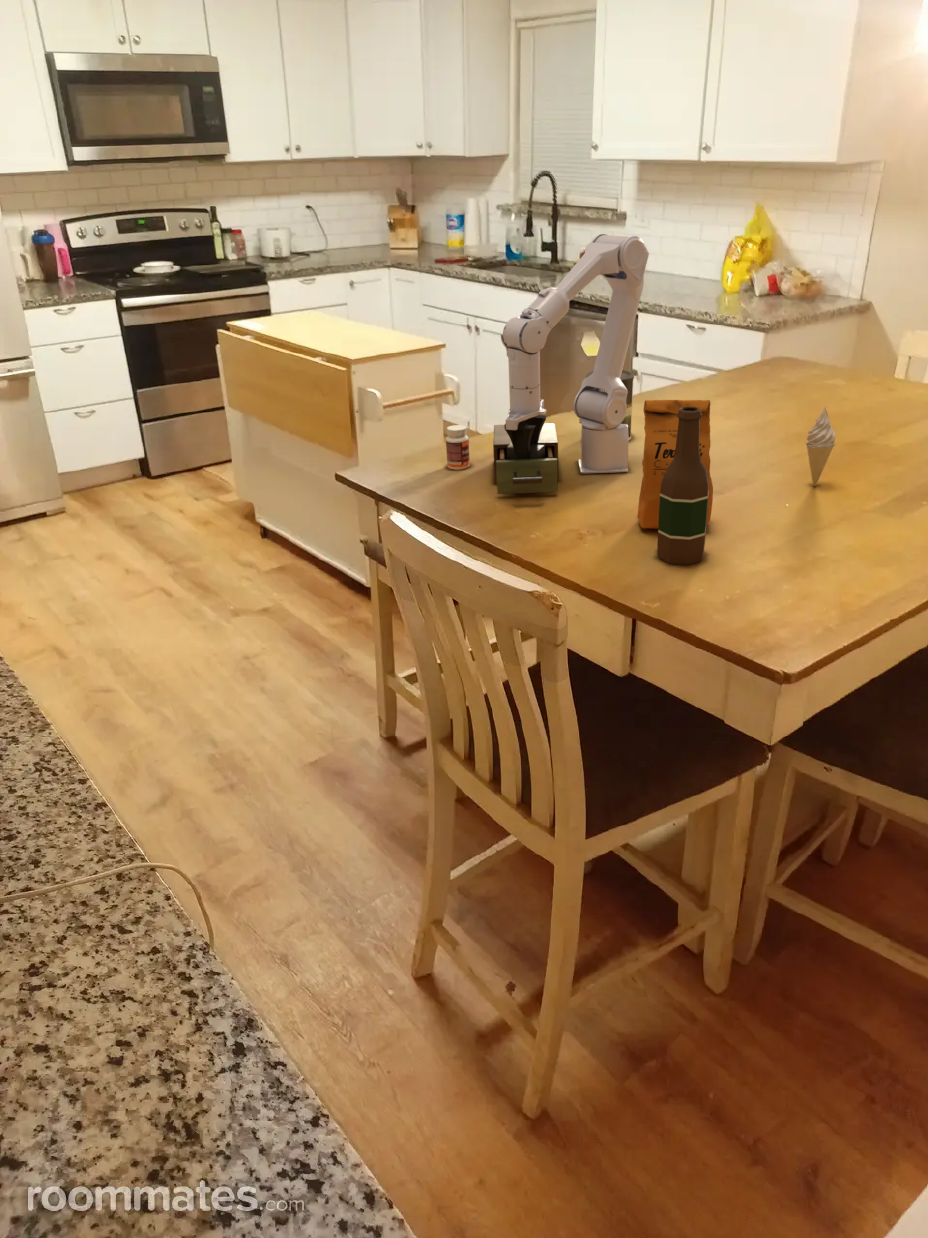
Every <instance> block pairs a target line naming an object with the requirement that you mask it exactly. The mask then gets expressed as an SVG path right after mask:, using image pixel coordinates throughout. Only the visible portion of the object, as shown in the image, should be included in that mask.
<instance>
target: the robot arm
mask: <svg viewBox="0 0 928 1238" xmlns="http://www.w3.org/2000/svg"><path fill="white" fill-rule="evenodd" d="M649 256H650V253H649V250H648V248H647V246H646V244H645V242H644V240H643V239H642V238H641V237H639V236H637V235H631V236H630V235H629V236H627V235H614V234H607V233H599V234H597V235H596V236H594V238H592V240H591V241H590V242H589V243H588V244H586V245H585V248H584V254H583V255H582V256H581V257H580V258H579V259H578V261H577V262H576V263H575V264H574V265H573V267H572V268H571V269H570V270H569V271H568V272H567V274H566V275H565V276H564V278H563V279H562V280H561V281H560V282H559V283H558V285H557V286H556V287H552V286H551V287H547V288H545V289H544V288H542V289H541V290H540V291H539V292H538V296H537V297H536V299H535V300H533V302H532V303H531V304H530V305H529V306H528V307H527V308H524V309H523V310H522V311H521V314H520V315H519V316H515V317H511V318H510V319H509V320H507V323H505V325H504V327H503V329H502V333H501V334H500V340H501V341H500V342H501V343H502V345H503V347H504V348H505V351H506V357H507V359H508V386H509V387H508V389H509V409H508V413H507V418H505V423H504V424H503V425H504V427H505V431H506V432H507V434H508V435H509V437H510V439H511V442H512V445H513V448H514V452H515V455H516V459H517V460H520V459H528V457H529V451H530V444H538V440H539V436H540V432H541V429H542V426H543V424H544V423H546V420H547V415H546V414H547V409H546V408H545V399H542V398H541V353H540V352H541V350H542V349H544V347H545V345H546V342H547V339H548V335H549V334H551V333H550V332H551V331H552V329H553V328H554V327H555V326H556V325H557V324H558V323H559V322H560V321H561V320H562V319H563V318H564V317H565V316H566V315H567V314H568V313H569V311H570V301H572V300H573V299H574V298H575V297H576V296H577V295H578V294H579V293H581V291H583V290H584V289H585V288H586V287H587V286H588V285H589V284H591V283H592V281H594V280H595V279H596V278H597V277H598V276H601V277H602V278H604V279H605V280H606V282H607V283H608V284H609V286H610V288H611V291H612V293H611V295H610V296H611V297H610V301H609V305H608V309H607V313H606V318H605V322H604V326H603V330H602V334H601V338H600V343H599V347H598V350H597V355H596V358H595V362H594V363H595V364H594V367H593V371H592V372H593V373H592V374H591V375H590V376H588V377H587V378H586V377H585V378H584V379H583V380H582V382H581V386H580V389H579V390H578V392H577V394H576V395H575V397H574V400H573V413H574V414H575V416H576V417H577V418H578V420H579V424H581V434H580V435H581V439H580V441H581V445H580V446H581V448H580V449H581V451H580V453H581V455H580V459H579V458H578V459H577V464H578V467H579V472H580V474H583V475H584V474H608V473H609V474H610V473H611V474H613V473H628V472H629V469H628V467H629V441H630V440H629V438H628V426H627V424H620V423H621V422H622V421H623V419H624V418H625V415H626V411H627V404H626V398H627V394H628V390H627V389H626V387H625V386H624V384H623V382H622V381H621V379H620V378H621V374H622V370H623V369H624V367H625V362H626V358H627V354H628V349H629V345H630V343H631V342H630V341H631V337H632V334H633V329H634V325H635V322H636V318H637V312H638V310H639V306H640V301H641V297H642V294H643V290H644V281H645V280H644V278H645V277H644V276H645V272H646V267H647V263H648V259H649ZM601 389H603V390H605V391H607V393H606V392H602V391H600V390H601Z"/></svg>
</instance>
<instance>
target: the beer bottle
mask: <svg viewBox="0 0 928 1238" xmlns="http://www.w3.org/2000/svg"><path fill="white" fill-rule="evenodd" d="M677 417H678V418H679V423H678V432H677V440H676V448H675V454H674V458H673V460H672V462H671V463H670V464H669V466H668V467H667V469H666V472H665V474H664V477H663V479H662V482H661V490H660V505H659V524H658V529H657V544H656V545H657V548H656V551H657V553H656V555H657V558H658V559H660V560H662V561H664V562H666V563H668V564H669V565H682V566H689V565H693V564H695V563H699V562H702V560H703V558H704V557H703V556H704V553H705V546H706V534H707V526H706V524H707V511H708V498H709V476H708V473H707V469H706V468H705V466H704V464H703V463H702V461H701V459H700V418H701V417H702V412H701V409H700V408H697V407H689V406H687V407H683V408H680V409H679V412H678V415H677Z"/></svg>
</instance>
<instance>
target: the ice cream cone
mask: <svg viewBox="0 0 928 1238" xmlns="http://www.w3.org/2000/svg"><path fill="white" fill-rule="evenodd" d="M826 408H827V407H826V406H824V408H823V409H822V412H821V413H820V415H819V416H818V418H817V419H815V424H814V425H813V427H811V428H810V430H809V431H808V432H807V434H808V435H807V437H806V442H805V445H806V450H807V456H808V462H809V463H808V464H809V468H810V474H811V480H812V486H813V487H816V486H817V484H818V482H819V480H820V477H821V476H822V473H823V471H824V468H825V466H826V464H827V462H828V460H829V457H830V456H831V454H832V453H831V452H832V450H833V449H834V447H835V446H836V445H835V442H836V433H835V429H834V428H832V425H831V424H832V421H831V419H830V417H829V413H828V410H827V409H826Z"/></svg>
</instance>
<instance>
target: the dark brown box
mask: <svg viewBox="0 0 928 1238" xmlns="http://www.w3.org/2000/svg"><path fill="white" fill-rule="evenodd" d="M528 459H545V445H539V444H530V451H529V457H528ZM507 460H517V459H516V455H515V452H514V448H513V445H512V443H511V444H510V445H508V447H507Z"/></svg>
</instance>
